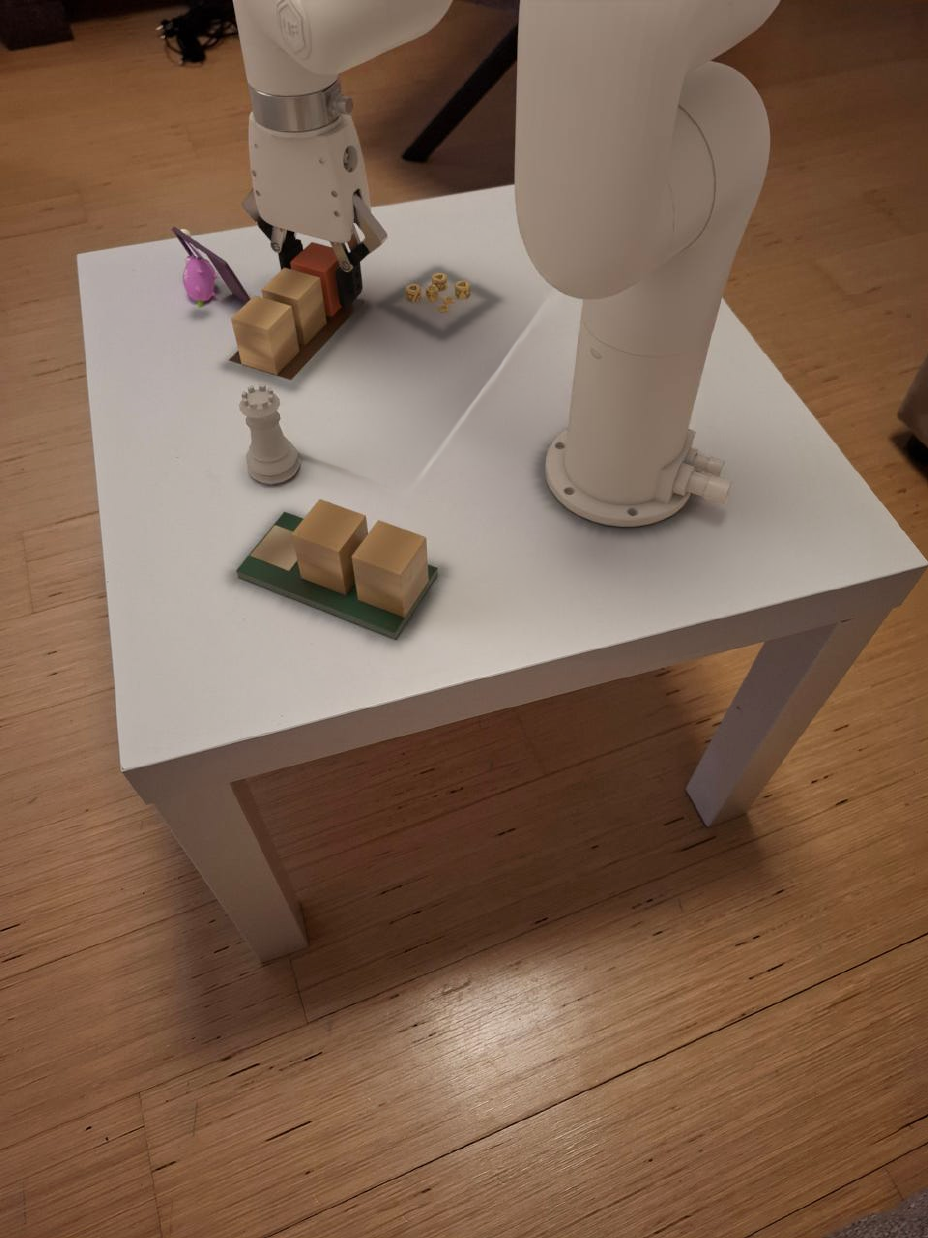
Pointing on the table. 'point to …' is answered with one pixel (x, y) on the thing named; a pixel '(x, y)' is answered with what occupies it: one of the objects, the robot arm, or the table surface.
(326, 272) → the orange upright block
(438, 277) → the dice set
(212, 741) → the table surface
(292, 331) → the far board with cubes
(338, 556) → the green board with cubes
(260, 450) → the rook chess piece
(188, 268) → the dragon fruit figure
